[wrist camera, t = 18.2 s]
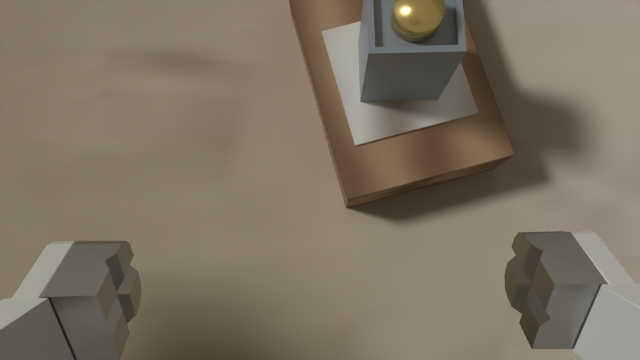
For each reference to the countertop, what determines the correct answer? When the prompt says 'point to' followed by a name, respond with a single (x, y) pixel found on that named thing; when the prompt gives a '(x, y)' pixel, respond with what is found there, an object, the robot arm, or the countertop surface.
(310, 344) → the countertop surface
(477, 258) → the countertop surface
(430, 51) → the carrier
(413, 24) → the ball
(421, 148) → the dock
